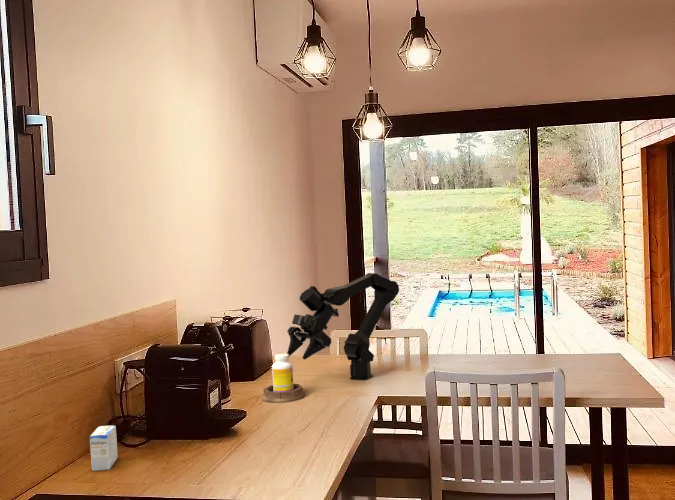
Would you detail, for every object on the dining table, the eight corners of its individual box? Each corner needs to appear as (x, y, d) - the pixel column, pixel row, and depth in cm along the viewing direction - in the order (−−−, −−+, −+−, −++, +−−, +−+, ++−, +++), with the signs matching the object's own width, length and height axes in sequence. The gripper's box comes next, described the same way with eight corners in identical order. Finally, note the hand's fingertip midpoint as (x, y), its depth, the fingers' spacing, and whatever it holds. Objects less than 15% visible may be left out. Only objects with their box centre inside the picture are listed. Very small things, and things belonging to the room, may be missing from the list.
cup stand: (312, 392, 225) (311, 383, 225) (291, 404, 212) (291, 394, 212) (275, 390, 231) (275, 381, 231) (253, 401, 218) (253, 392, 218)
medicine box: (100, 460, 170) (97, 426, 170) (118, 458, 170) (115, 424, 170) (91, 471, 162) (88, 435, 162) (110, 469, 163) (107, 434, 162)
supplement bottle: (294, 395, 219) (292, 356, 218) (274, 397, 218) (272, 357, 217) (292, 390, 225) (290, 352, 225) (272, 392, 224) (270, 353, 224)
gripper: (289, 303, 234) (265, 340, 228) (321, 306, 220) (296, 346, 213) (309, 322, 240) (286, 358, 233) (342, 327, 225) (317, 366, 219)
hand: (295, 357), depth 225 cm, fingers open, 9 cm apart
